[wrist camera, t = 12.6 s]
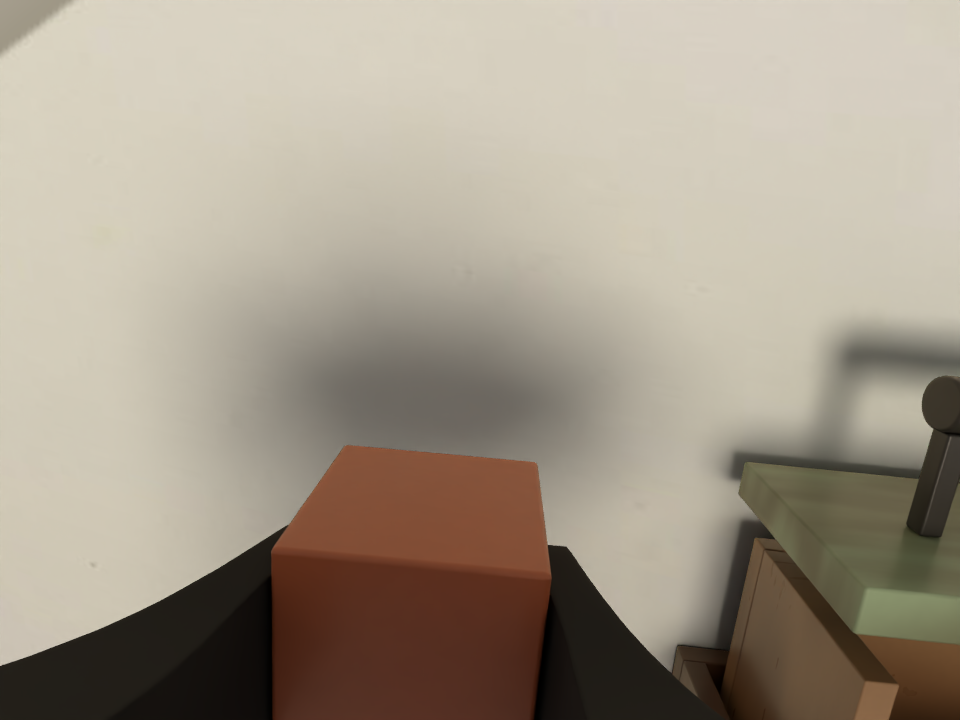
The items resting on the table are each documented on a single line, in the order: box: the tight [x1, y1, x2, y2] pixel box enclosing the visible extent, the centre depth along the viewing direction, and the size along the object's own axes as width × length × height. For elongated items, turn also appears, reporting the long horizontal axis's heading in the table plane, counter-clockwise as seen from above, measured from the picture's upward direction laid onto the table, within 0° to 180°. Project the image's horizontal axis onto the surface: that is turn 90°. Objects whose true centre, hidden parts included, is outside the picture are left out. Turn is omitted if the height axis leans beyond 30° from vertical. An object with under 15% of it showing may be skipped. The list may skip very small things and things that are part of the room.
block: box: [271, 445, 552, 720], centre depth 11 cm, size 4×4×4 cm
